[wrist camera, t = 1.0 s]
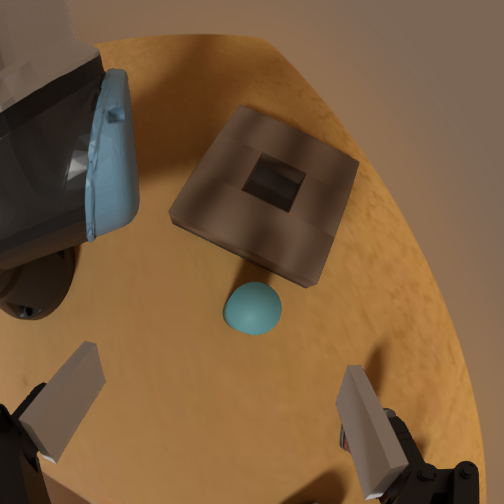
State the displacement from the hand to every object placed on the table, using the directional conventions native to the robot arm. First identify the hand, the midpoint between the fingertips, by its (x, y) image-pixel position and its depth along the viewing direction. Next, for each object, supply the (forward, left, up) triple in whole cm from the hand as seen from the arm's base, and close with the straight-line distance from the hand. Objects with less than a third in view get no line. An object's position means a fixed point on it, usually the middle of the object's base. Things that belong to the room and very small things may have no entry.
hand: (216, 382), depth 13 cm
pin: (+1, +5, -19) cm, 19 cm away
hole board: (-2, +20, -19) cm, 27 cm away
